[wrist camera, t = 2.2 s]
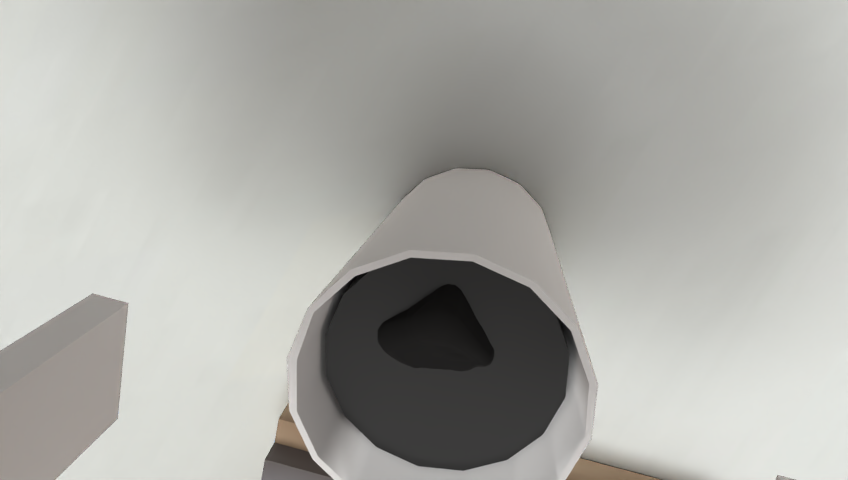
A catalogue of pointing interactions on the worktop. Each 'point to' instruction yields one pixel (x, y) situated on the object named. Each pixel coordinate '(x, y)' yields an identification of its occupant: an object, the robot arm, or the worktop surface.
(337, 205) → the worktop surface
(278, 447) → the wooden display stand
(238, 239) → the worktop surface
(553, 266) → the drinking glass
